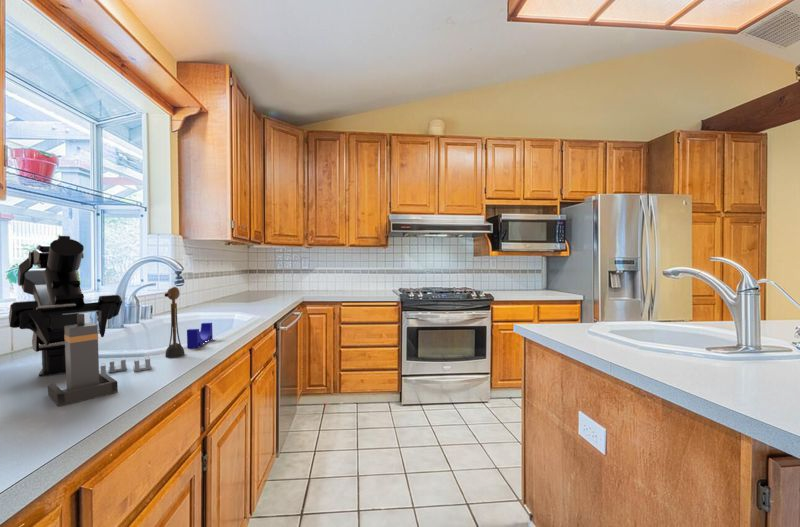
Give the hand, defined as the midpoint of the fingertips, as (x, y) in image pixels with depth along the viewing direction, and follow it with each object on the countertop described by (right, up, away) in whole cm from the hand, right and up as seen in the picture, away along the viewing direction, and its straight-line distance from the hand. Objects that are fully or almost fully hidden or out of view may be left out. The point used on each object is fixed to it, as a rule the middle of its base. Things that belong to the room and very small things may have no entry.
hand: (76, 339), depth 81 cm
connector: (+3, -10, -2) cm, 11 cm away
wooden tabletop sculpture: (+5, -10, +27) cm, 29 cm away
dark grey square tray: (+3, -11, -2) cm, 12 cm away
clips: (0, -11, +13) cm, 16 cm away
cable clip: (+4, -10, +41) cm, 43 cm away
